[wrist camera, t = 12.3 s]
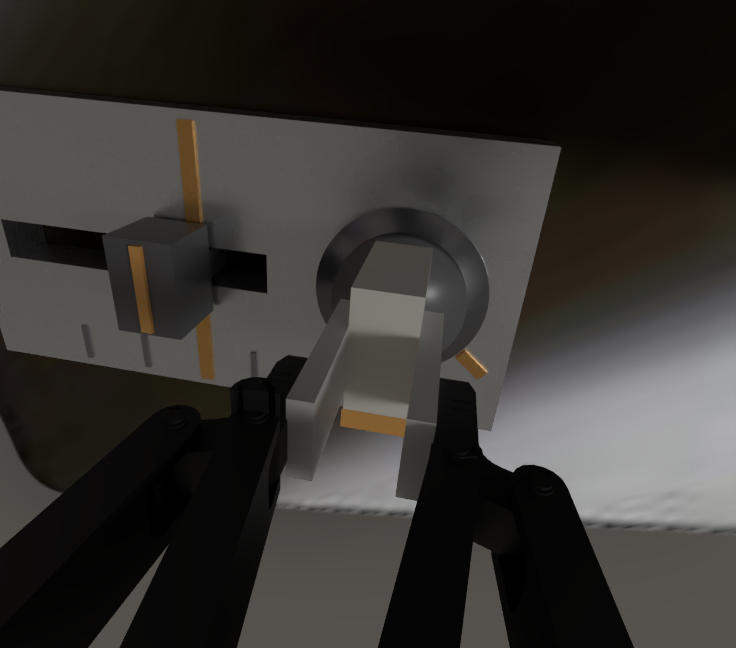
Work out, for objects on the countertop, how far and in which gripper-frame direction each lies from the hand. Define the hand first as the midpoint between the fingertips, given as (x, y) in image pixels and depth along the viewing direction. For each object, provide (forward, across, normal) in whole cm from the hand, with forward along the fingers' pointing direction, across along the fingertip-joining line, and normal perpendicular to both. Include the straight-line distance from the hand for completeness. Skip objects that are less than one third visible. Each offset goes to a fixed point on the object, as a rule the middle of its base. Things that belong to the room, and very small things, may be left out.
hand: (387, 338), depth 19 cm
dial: (+4, 0, 0) cm, 4 cm away
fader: (+7, -11, 0) cm, 13 cm away
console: (+7, -8, 0) cm, 11 cm away
